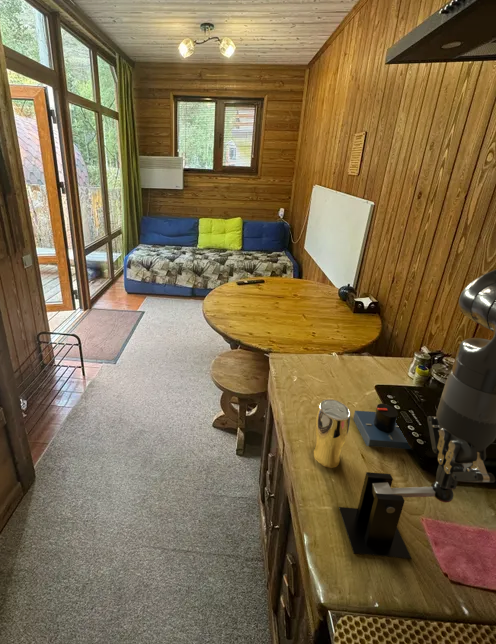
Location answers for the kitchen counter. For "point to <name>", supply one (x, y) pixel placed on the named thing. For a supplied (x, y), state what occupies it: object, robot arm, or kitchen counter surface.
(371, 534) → the bracket
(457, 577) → the kitchen counter surface
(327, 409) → the beer glass
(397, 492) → the tap lever
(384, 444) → the valve panel
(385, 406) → the knob
